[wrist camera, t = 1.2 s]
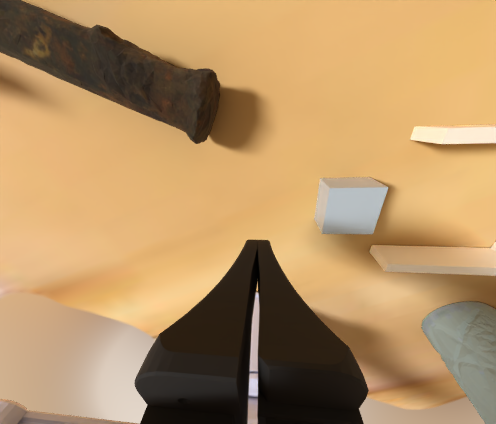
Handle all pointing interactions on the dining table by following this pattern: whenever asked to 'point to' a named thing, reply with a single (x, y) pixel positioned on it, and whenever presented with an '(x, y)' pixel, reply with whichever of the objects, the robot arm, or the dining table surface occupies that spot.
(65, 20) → the dark brown elongated piece
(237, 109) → the dining table surface
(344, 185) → the frosted grey cube
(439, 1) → the dining table surface
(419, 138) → the cream u-shaped frame
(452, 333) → the green embossed cup
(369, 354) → the dining table surface
